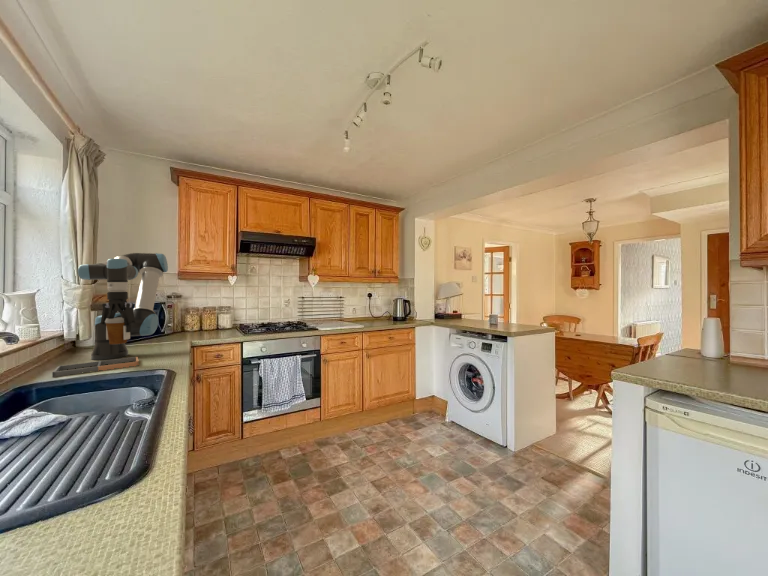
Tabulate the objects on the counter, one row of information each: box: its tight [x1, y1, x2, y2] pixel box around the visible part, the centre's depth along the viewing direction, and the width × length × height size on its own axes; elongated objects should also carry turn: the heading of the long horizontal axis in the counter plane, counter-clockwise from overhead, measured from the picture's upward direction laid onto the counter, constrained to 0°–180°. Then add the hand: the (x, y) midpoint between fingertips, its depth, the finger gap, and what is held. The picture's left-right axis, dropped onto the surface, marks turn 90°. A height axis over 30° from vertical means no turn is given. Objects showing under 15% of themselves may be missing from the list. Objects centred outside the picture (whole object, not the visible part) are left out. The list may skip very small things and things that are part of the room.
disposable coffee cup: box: [105, 317, 128, 344], centre depth 151 cm, size 10×10×12 cm
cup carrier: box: [52, 356, 140, 378], centre depth 147 cm, size 15×28×2 cm, turn 129°
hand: (118, 339), depth 151 cm, fingers closed on disposable coffee cup, 8 cm apart
